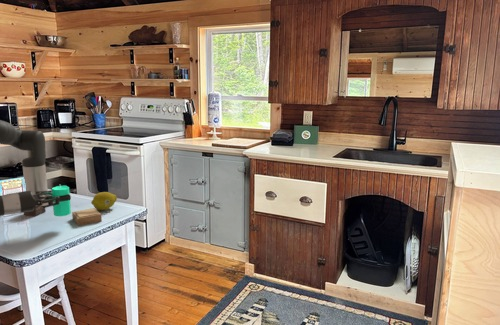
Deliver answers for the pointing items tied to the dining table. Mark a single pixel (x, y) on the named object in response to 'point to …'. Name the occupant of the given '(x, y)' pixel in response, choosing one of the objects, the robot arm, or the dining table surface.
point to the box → (35, 211)
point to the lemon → (104, 200)
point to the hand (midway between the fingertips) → (68, 195)
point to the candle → (63, 206)
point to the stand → (86, 216)
